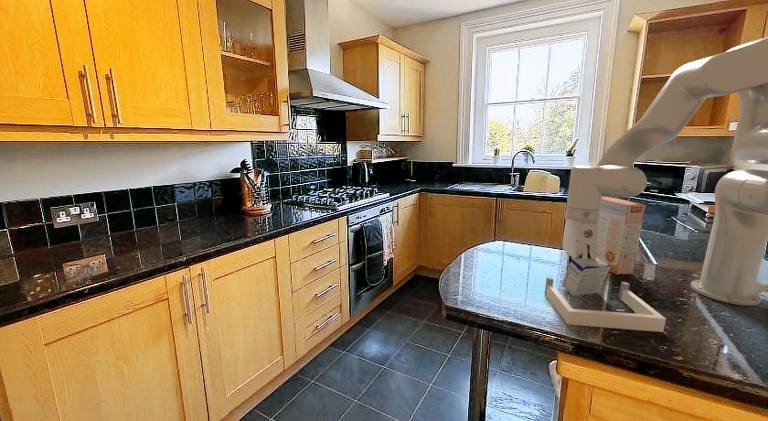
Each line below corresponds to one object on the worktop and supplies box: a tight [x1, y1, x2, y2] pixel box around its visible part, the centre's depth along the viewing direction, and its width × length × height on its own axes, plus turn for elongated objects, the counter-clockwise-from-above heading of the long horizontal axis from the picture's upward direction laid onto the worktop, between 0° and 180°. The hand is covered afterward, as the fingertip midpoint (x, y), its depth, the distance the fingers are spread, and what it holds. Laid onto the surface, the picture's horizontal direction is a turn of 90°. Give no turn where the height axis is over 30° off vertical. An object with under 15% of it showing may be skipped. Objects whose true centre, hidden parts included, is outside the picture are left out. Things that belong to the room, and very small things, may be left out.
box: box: [561, 257, 610, 297], centre depth 83 cm, size 8×4×9 cm, turn 104°
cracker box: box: [596, 195, 647, 276], centre depth 100 cm, size 14×6×21 cm, turn 6°
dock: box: [544, 276, 667, 333], centre depth 75 cm, size 18×14×4 cm
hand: (572, 280), depth 89 cm, fingers closed
